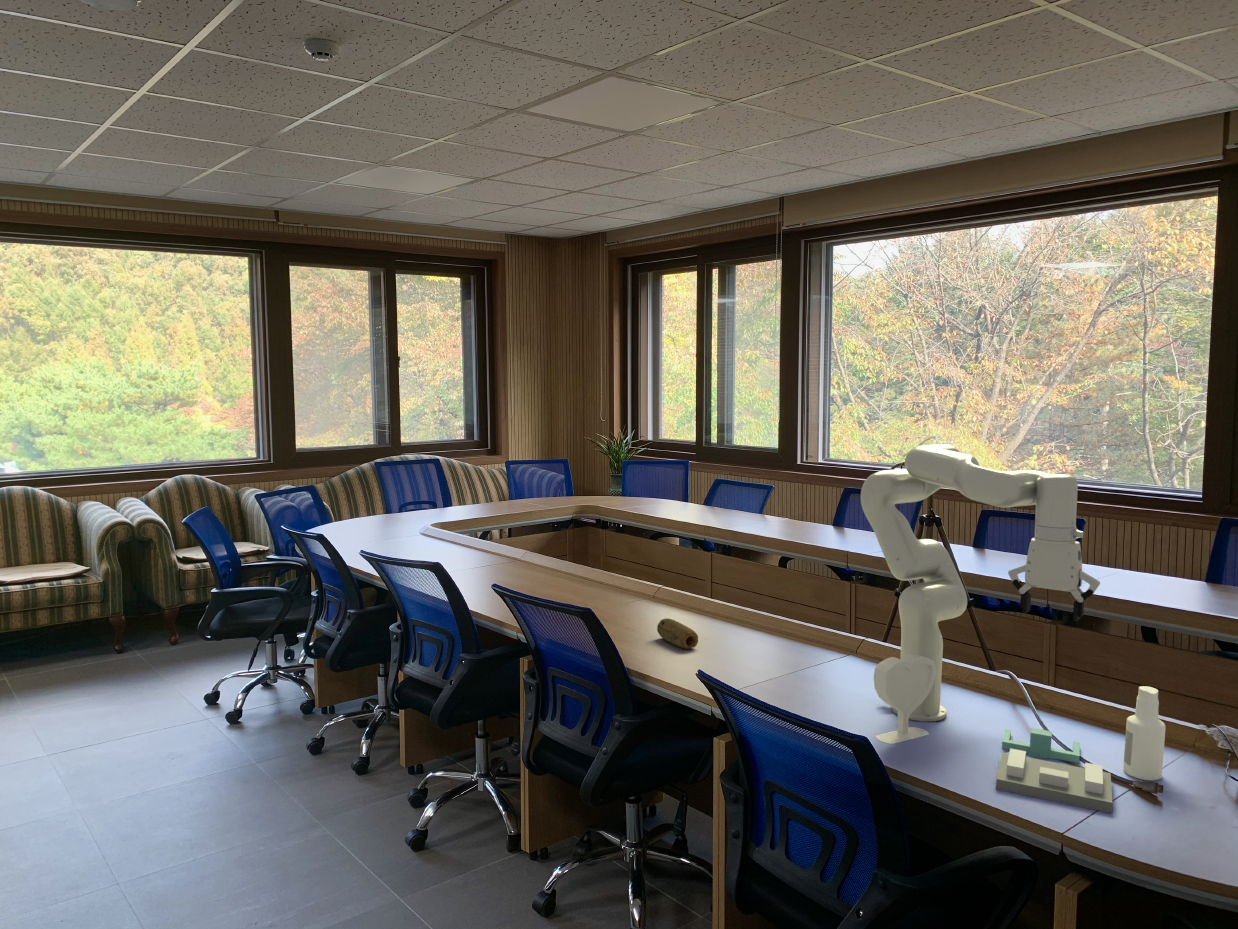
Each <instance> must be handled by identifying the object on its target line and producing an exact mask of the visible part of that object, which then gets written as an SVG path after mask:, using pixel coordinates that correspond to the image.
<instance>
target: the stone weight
mask: <svg viewBox="0 0 1238 929" xmlns="http://www.w3.org/2000/svg"><path fill="white" fill-rule="evenodd" d="M656 626H657V627H656V630H657V633H658V635H659V636H660V637H661V638H662V640H665V641H666V642H668V643H670V644H672V645H674V646H677V647H679V648H681V649H684V650H688V649H693V648H695V647H697V645H698V643H699V636H698V634H697V632H696V631H694V629H692V628H690V627H688V626H687V625H685V624H683V623H681V622H679V621H677V620H675V619H671V618H667V617H666V618H663V619H660V621H659V622H658V623H657V625H656Z"/></svg>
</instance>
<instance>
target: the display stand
mask: <svg viewBox="0 0 1238 929" xmlns="http://www.w3.org/2000/svg"><path fill="white" fill-rule="evenodd" d="M1111 776H1112V774H1111V773H1110V772H1106V771H1104V770H1103V765H1099V764H1094V763H1090V762H1089V763H1088V762H1085V764H1084V767H1080V766H1075V765H1070V764H1065V763H1059V762H1054V761H1048V760H1043V759H1038V758H1032V757H1028V756H1027V753H1026V751H1022V750H1016V749H1011V748H1010V750H1009V752H1008V753H1007V752H1002V753H1001V756H1000V760H999V765H998V769H997V775H996V779H995V789H996V790H1001V791H1006V792H1010V793H1016V794H1020V795H1024V796H1029V797H1035V798H1039V799H1044V800H1049V801H1053V802H1058V803H1062V804H1068V805H1072V806H1076V807H1082V808H1085V809H1091V810H1096V811H1100V812H1106V813H1110V814H1112V813H1113V792H1112V791H1113V790H1112V789H1113V788H1112V777H1111Z"/></svg>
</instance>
